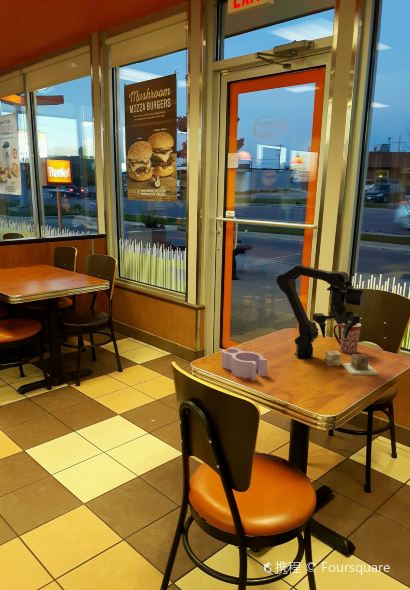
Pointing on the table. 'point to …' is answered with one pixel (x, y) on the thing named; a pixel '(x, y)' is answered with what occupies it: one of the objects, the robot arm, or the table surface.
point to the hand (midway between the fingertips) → (334, 337)
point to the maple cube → (332, 358)
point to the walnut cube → (359, 362)
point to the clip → (244, 363)
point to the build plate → (359, 372)
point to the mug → (348, 338)
